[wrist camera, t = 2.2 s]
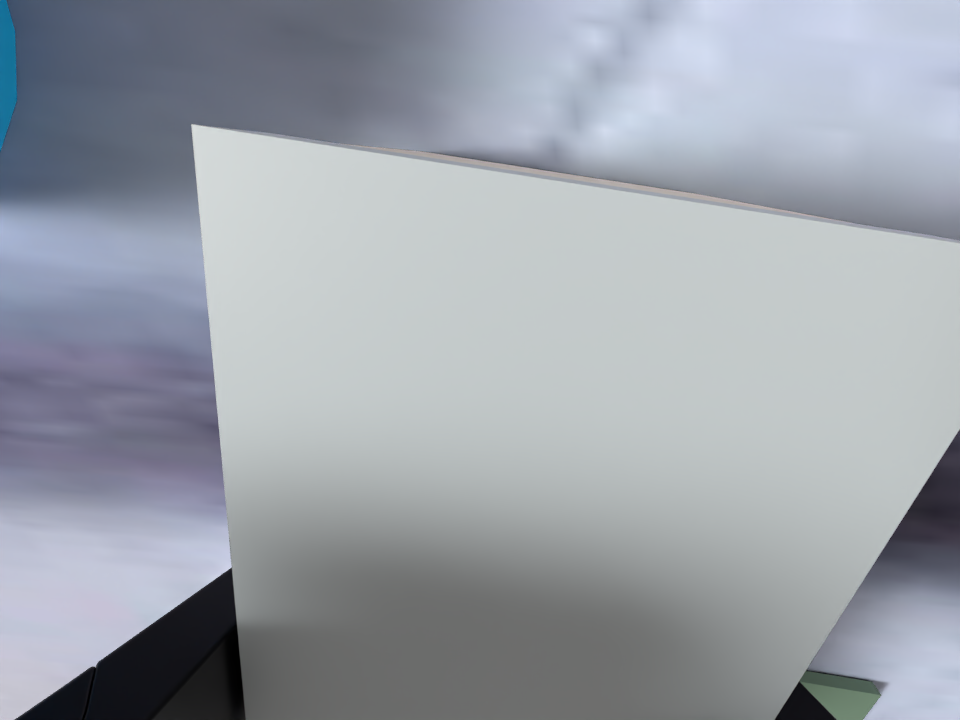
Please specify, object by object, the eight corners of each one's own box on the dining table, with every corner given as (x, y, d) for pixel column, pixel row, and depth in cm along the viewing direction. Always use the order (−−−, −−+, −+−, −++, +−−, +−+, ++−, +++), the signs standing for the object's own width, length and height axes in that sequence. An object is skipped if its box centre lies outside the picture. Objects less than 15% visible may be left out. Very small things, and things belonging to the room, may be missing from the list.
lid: (597, 824, 11) (614, 970, 9) (308, 775, 11) (263, 908, 9) (873, 224, 6) (1066, 260, 4) (305, 137, 6) (190, 123, 4)
